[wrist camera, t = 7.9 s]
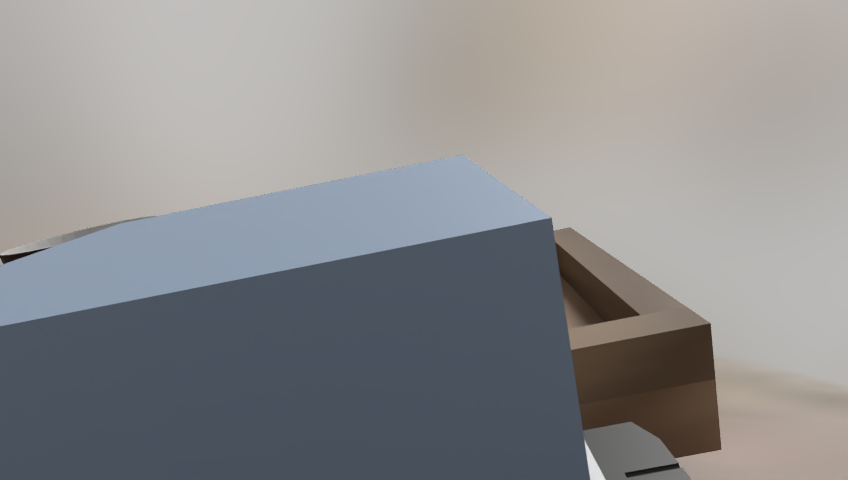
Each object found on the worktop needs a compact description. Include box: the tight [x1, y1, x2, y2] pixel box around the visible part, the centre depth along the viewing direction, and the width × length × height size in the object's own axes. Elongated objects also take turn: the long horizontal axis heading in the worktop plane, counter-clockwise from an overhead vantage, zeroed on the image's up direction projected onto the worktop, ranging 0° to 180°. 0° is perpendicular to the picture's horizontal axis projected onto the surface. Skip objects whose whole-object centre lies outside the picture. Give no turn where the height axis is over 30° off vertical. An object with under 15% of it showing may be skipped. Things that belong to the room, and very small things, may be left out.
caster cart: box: [554, 228, 721, 458], centre depth 20 cm, size 16×12×6 cm
